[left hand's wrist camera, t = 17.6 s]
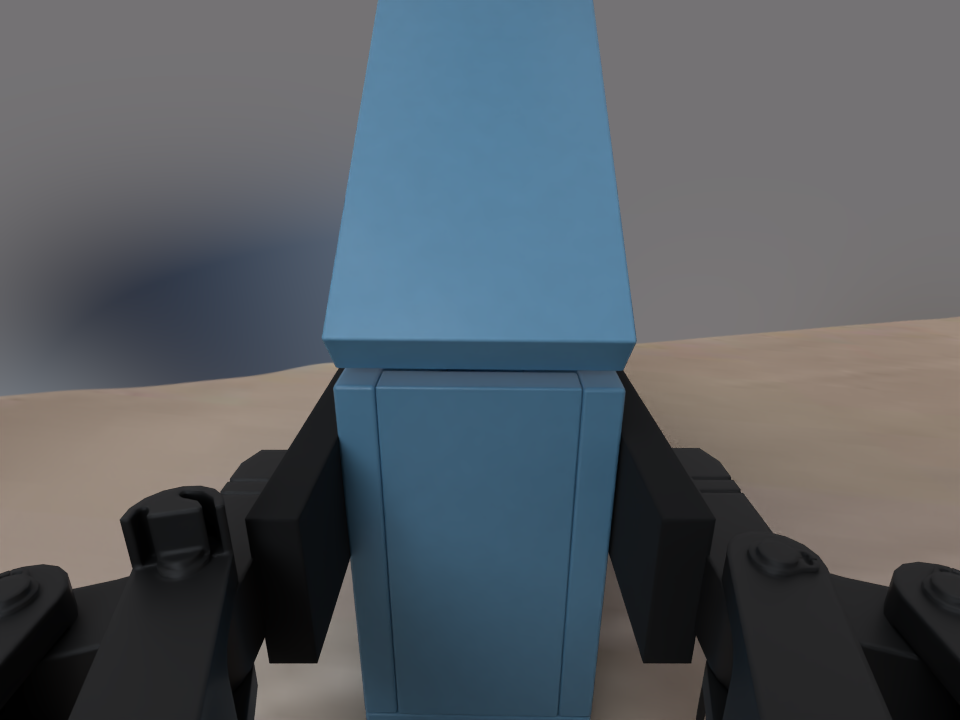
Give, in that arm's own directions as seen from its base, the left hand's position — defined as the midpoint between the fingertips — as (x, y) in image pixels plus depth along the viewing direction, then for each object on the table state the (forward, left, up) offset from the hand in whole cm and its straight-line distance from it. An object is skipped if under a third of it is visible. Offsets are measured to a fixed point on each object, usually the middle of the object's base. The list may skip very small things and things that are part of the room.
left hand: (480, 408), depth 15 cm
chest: (0, -4, -6) cm, 8 cm away
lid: (0, -3, +8) cm, 9 cm away
